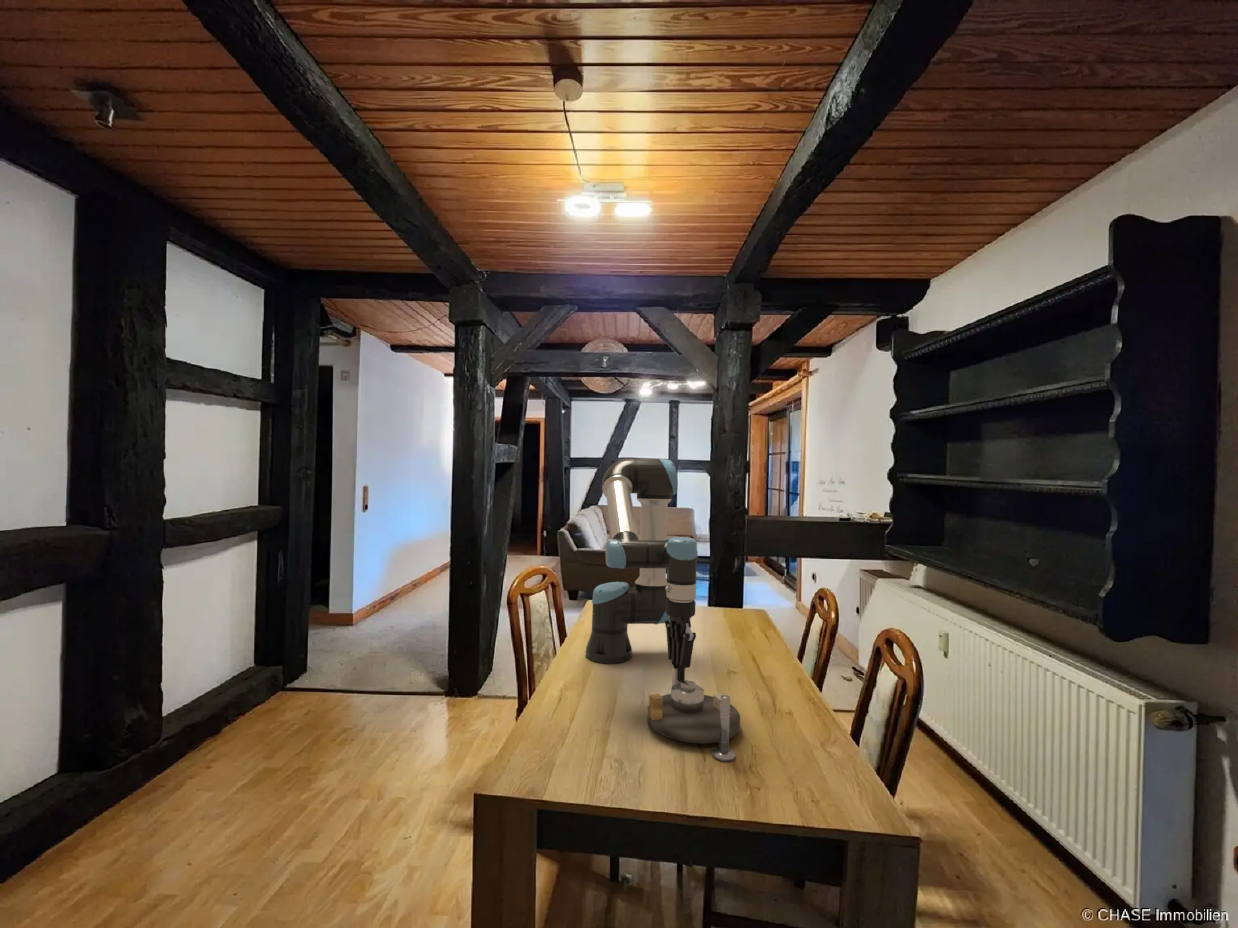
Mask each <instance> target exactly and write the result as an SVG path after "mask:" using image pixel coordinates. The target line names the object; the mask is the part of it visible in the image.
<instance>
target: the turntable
mask: <svg viewBox="0 0 1238 928" xmlns="http://www.w3.org/2000/svg"><path fill="white" fill-rule="evenodd" d="M648 697H649V698H648V706H647V712H646V713H647V716H646V717H647V719H646V720H647V723H648V724H649V726H650V727H651V728H652V729H654V731H655V732H657V733H658V734H660V735H663V736H665V737H667V738H669V739H673V740H676V741H679V742H684V743H691V744H714V743H719V739H720V711H719V710H718V709H717V708H715V707H714V706H713V696H711V695H707V694H704V708H703V710H702V711H700V712H697V713H683V712H679V711H677V710H675V709H673V708H672V706H671V693H667V694H664V695H661V694H660V693H653V694H648ZM740 729H741V715H740V712H739V711H738V709H737V708H736V707H735V706H734V705H732V704H731V703H730V719H729V739H731V738H732V737H735V736H736V735H737V734H738V733H739V731H740Z"/></svg>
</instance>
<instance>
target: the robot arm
mask: <svg viewBox="0 0 1238 928" xmlns="http://www.w3.org/2000/svg"><path fill="white" fill-rule="evenodd" d="M677 475H678V473H677V470H676V466H675V464H674V462H673V461H672V460H670V459H665V458H644V457H643V458H642V457H641V458H637V457H636V458H635V457H634V458H633V457H626V458H621V459H619V460H617V461H615V463H612V465H611V466H609V468H608V469H607V470H606V472H605V473H604V475H603V478H602V480H601V481H602V483H601V490H602V494H603V495H604V497H605V498H606V504H607V513H608V520H609V529H610V537H611V538H610V539H609V540H607V541H606V542H605V553H604V554H605V564H606V566H607V567H608V568H610V569H611V568H613V569H620V570H622V569H639V576H638V577H637V579H636V580H635V581H634V586H633V587H630V585H629V583H628V582H625V581H611V582H606V583H605V582H604V583H602V584H598V585H597V586H596V587H595V588H594V589H593V591H592V600H591V604H592V612H591V613H592V615H591V616H592V617H591V632H590V636H589V638H588V641H587V644H586V647H585V657H586V658H587V657H588V658H589V659H588V658H587V659H588V660H590V661H592V662H594V661H596V662H595V663H599V662H600V663H599V664H609V665H610V664H612V665H613V664H620V663H625V662H627V661H630V660H631V659H632V657H633V648H632V645H631V641H630V638H629V633H628V626H629V625H640V624H641V625H643V624H644V625H658V624H659V625H661V624H664V625H665V626H664V627H665V630H666V643H667V656H668V657H667V658H668V660H669V661H671V665H672V676H671V677H672V678H671V679H672V681H671V687H672V686H673V685H675V684H679V683H681V681H684V680H686V678H685V677H686V676H685V675H686V674H685V673H686V671H685V670H686V669H688V668H690V667H691V662H692V655H693V649H694V642H695V640H696V638H697V633H696V632H693V631H692V630H691V627H692V624H691V618H692V617H694V616H695V615H696V606H697V605H696V601H695V599H697V565H698V564H697V563H698V555H699V553H698V543H697V541H696V539H694V538H691V537H687V536H686V537H685V536H684V537H683V536H676V537H674V536H673V537H671V538H667V533H668V531H667V530H668V529H667V527H668V525H667V523H668V504H669V503H670V502H672V500H673V496H674V495H676V494H677V493H678V485H679V483H678V481H679V480H678V476H677ZM631 494H636V500H637V501H638V502H639V503H640V505H641V506H640V507H641V508H640V538H639V532H638V527H637V522H636V517H635V510H634V505H633V500H632V495H631Z"/></svg>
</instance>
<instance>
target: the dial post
mask: <svg viewBox="0 0 1238 928" xmlns="http://www.w3.org/2000/svg"><path fill="white" fill-rule="evenodd" d="M712 697H713V706H714V707H715V708H717V709H718V710H719V711H720V739H719V742H718V744H719V745H718V746H715V747H713V748H712V750H711V756H712V757H713V759H714V760H715V761H718V762H722V763H731V762H733V761H735V760H736V752H735V750H734V749H733V748H731V747H730V746H729V745H730V742H729V741H730V738H729V719H730V704H731V696H730V695H727V694H724V693H716V694H713V696H712Z"/></svg>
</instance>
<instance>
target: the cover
mask: <svg viewBox="0 0 1238 928" xmlns="http://www.w3.org/2000/svg"><path fill="white" fill-rule="evenodd" d="M670 689H671V691H670V694H671V706H672V708H673V709H675V710H677V711H679V712H683V713H697V712H700V711H702V710H703V708H704V695H705V689H704V688H703V687H702V686H700V685H698V684H696V682H695V681H692V680H688V679H685V680H684V681H681V683H679V684H675V685H673V686H672V685H671V688H670Z"/></svg>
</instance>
